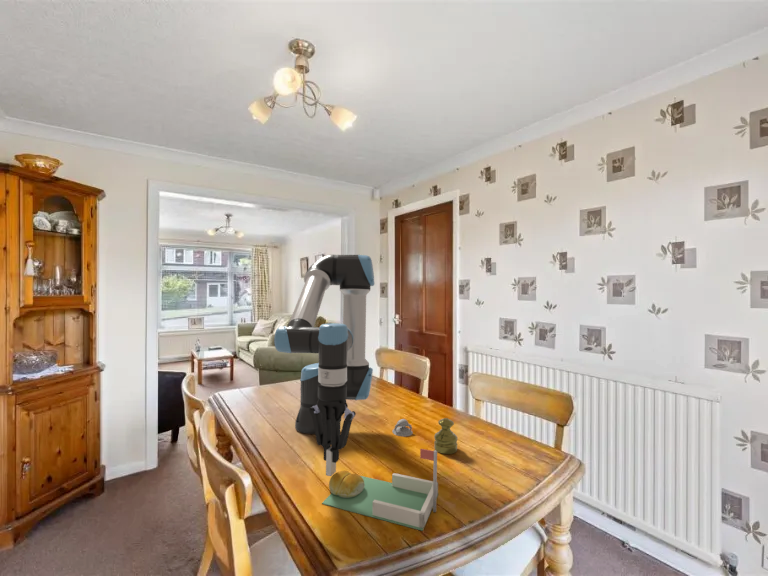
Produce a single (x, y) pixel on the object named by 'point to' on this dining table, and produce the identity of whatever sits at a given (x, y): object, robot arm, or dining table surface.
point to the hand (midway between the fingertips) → (331, 473)
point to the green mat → (381, 493)
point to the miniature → (402, 428)
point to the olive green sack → (445, 438)
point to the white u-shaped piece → (412, 484)
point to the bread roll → (346, 484)
